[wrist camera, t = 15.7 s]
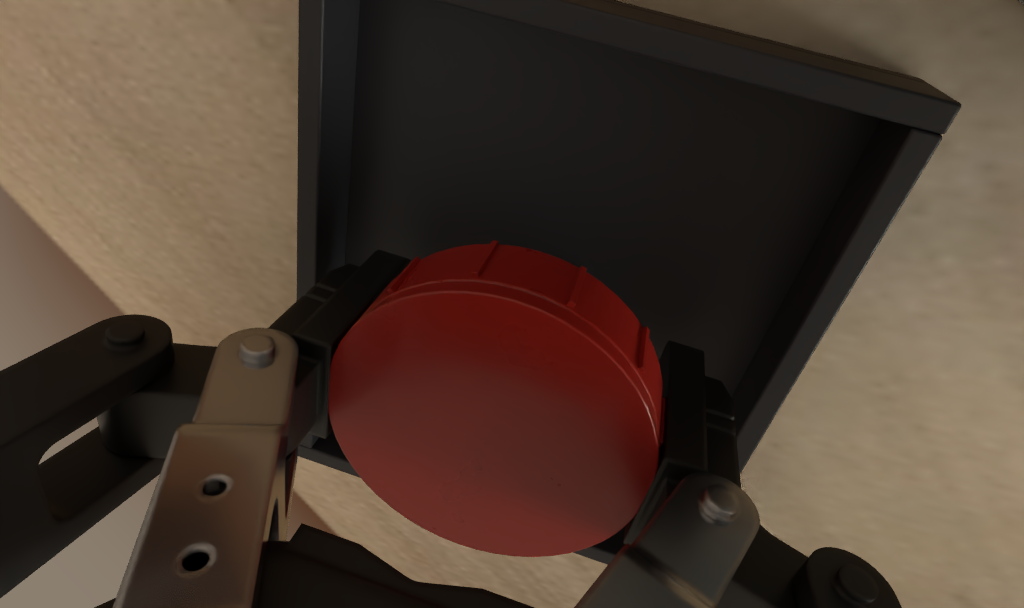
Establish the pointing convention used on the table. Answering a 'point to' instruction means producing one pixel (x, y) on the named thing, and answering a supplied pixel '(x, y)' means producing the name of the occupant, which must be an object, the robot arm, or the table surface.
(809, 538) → the table surface
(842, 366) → the table surface
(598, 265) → the tray
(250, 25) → the table surface
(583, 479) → the lid
